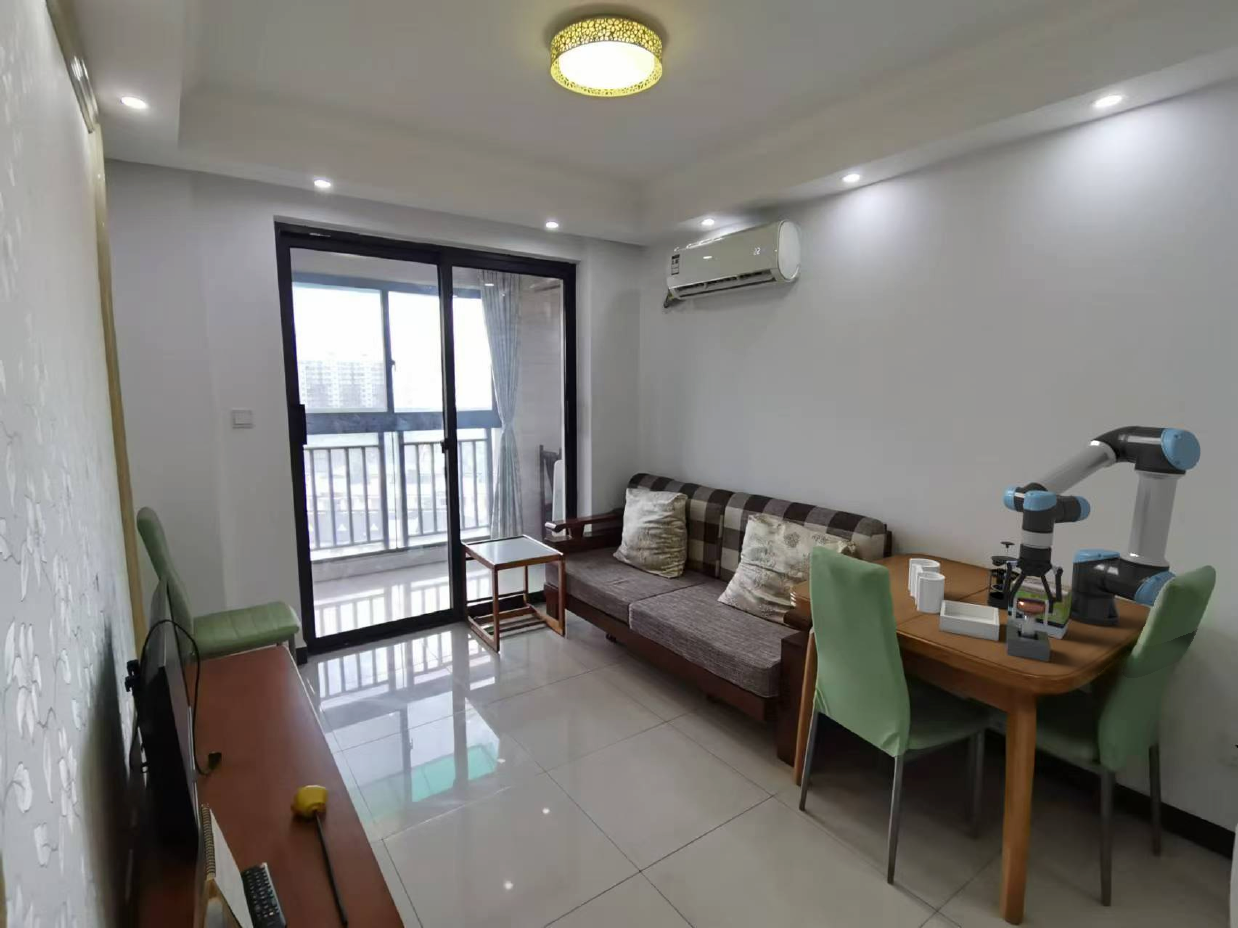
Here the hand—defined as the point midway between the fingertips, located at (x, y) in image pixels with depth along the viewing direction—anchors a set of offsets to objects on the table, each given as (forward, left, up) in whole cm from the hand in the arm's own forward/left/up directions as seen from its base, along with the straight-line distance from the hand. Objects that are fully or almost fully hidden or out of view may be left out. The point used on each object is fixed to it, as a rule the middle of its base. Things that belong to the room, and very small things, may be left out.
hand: (1029, 620), depth 175 cm
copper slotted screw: (0, 0, -10) cm, 10 cm away
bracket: (+28, -31, -10) cm, 43 cm away
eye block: (0, 0, -10) cm, 10 cm away
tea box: (-4, -21, -10) cm, 24 cm away
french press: (+5, -39, -10) cm, 41 cm away
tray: (+15, -12, -10) cm, 21 cm away
